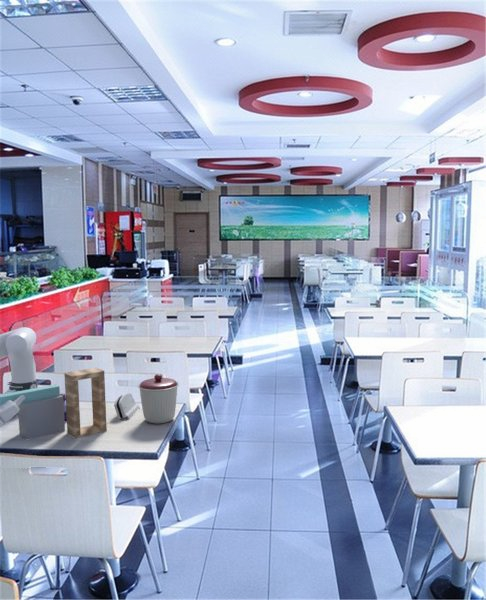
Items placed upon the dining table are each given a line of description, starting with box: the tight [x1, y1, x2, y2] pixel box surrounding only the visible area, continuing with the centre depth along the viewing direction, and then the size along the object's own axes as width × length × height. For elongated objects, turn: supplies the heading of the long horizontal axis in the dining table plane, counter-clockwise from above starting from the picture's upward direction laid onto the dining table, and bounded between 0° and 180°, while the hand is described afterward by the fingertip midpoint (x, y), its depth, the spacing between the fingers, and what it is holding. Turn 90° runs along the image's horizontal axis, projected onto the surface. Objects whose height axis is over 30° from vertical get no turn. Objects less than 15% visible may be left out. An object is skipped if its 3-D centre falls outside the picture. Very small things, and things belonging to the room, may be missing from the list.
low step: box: [17, 395, 66, 441], centre depth 232 cm, size 16×9×15 cm, turn 130°
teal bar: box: [0, 384, 61, 406], centre depth 228 cm, size 24×4×4 cm, turn 130°
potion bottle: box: [60, 393, 67, 422], centre depth 248 cm, size 9×9×12 cm
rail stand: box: [63, 367, 108, 439], centre depth 232 cm, size 14×8×26 cm, turn 130°
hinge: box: [113, 393, 141, 420], centre depth 257 cm, size 17×5×10 cm, turn 173°
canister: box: [137, 373, 180, 425], centre depth 246 cm, size 18×18×21 cm
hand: (20, 393), depth 226 cm, fingers open, 8 cm apart
